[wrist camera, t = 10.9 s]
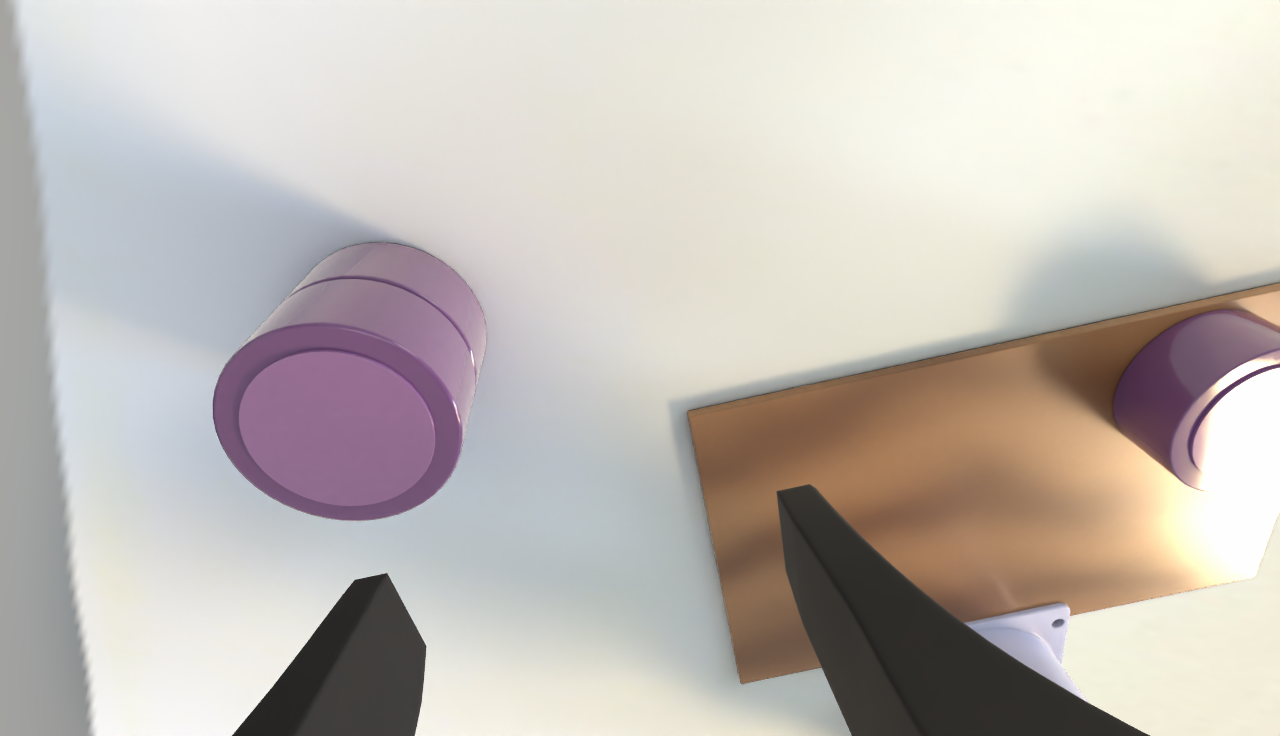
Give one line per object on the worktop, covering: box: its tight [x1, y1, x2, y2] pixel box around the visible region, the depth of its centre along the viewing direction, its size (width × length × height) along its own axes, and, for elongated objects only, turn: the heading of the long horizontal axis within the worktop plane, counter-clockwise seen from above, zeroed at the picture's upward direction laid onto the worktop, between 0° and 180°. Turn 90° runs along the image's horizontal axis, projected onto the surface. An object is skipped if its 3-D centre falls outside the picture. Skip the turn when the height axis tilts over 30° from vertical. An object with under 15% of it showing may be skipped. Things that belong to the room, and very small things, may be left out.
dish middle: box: [213, 279, 475, 521], centre depth 16 cm, size 5×5×3 cm
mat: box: [687, 283, 1280, 684], centre depth 25 cm, size 14×22×1 cm, turn 101°
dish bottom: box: [282, 242, 487, 395], centre depth 19 cm, size 5×5×3 cm
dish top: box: [1113, 309, 1280, 492], centre depth 22 cm, size 5×5×3 cm
